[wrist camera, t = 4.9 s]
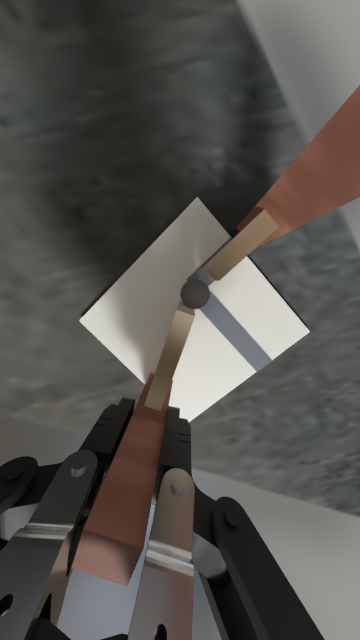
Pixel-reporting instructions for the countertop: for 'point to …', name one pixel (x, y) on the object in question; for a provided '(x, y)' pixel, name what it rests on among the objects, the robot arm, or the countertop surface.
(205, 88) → the countertop surface
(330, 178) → the brown piece
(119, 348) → the card
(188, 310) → the toy gate half
